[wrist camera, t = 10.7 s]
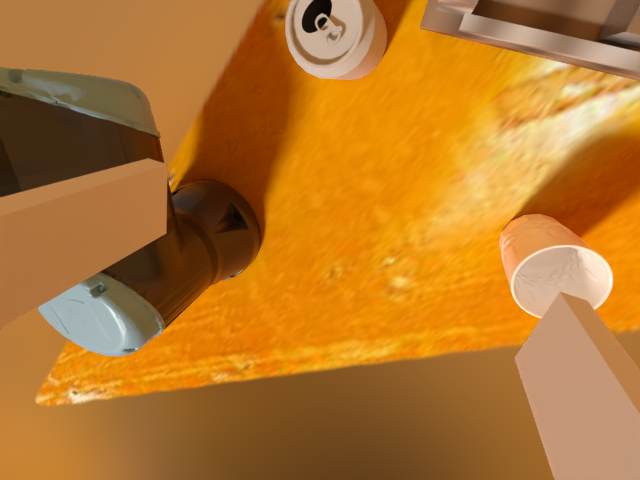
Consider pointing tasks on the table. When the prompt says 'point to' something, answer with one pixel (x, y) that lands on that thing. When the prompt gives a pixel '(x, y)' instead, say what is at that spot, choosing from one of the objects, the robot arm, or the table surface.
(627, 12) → the ram
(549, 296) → the white cup
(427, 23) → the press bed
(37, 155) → the robot arm
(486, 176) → the table surface
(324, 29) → the can
